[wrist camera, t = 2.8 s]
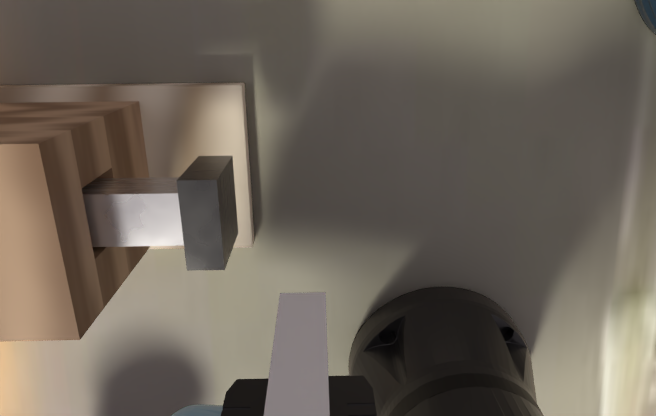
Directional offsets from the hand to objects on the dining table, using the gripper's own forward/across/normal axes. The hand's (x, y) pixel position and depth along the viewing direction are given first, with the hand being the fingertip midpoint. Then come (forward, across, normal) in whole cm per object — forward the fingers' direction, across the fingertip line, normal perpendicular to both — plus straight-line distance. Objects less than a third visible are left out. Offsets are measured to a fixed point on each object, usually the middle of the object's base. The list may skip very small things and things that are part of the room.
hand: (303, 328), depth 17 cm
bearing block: (+22, +14, 0) cm, 26 cm away
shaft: (+15, +12, 0) cm, 19 cm away
